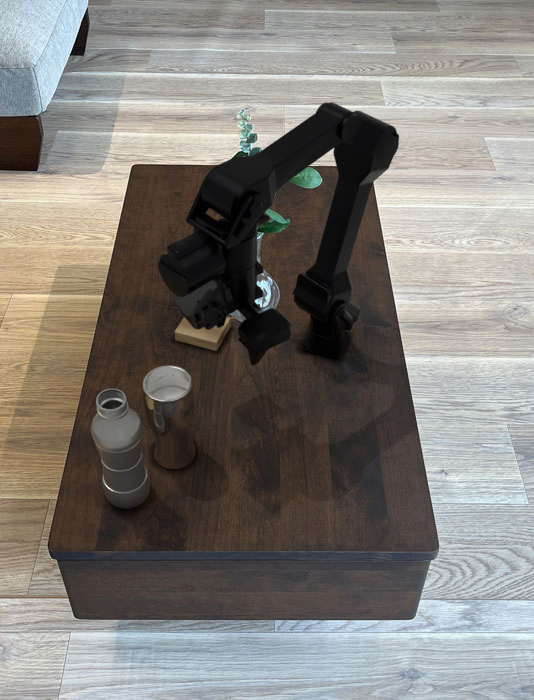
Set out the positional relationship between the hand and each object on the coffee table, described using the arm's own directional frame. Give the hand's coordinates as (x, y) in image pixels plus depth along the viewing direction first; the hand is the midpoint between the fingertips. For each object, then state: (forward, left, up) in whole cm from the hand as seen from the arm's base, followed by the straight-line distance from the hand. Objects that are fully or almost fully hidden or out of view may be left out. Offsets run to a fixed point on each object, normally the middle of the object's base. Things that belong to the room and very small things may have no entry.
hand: (237, 344), depth 114 cm
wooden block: (-13, -11, -13) cm, 21 cm away
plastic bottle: (+21, -8, -13) cm, 26 cm away
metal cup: (+12, -5, -13) cm, 18 cm away
